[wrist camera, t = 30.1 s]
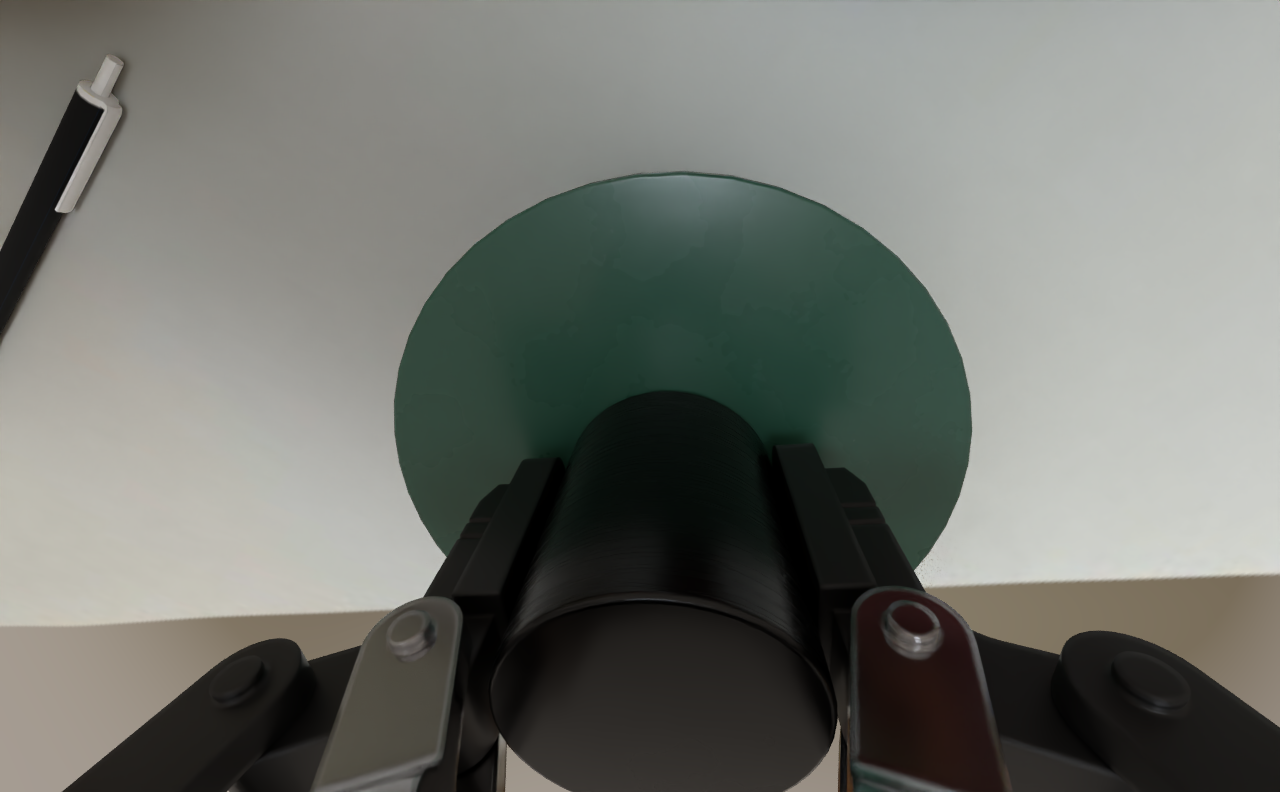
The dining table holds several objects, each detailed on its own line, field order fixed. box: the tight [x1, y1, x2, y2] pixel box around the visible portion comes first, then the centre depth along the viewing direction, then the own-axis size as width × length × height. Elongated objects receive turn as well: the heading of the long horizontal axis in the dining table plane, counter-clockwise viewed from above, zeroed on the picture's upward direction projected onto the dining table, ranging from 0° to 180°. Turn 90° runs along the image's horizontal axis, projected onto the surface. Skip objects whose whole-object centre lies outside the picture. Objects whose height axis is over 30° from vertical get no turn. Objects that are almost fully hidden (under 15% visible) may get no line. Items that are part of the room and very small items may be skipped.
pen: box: [0, 54, 124, 334], centre depth 18 cm, size 1×19×1 cm
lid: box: [394, 171, 972, 792], centre depth 9 cm, size 12×12×6 cm
